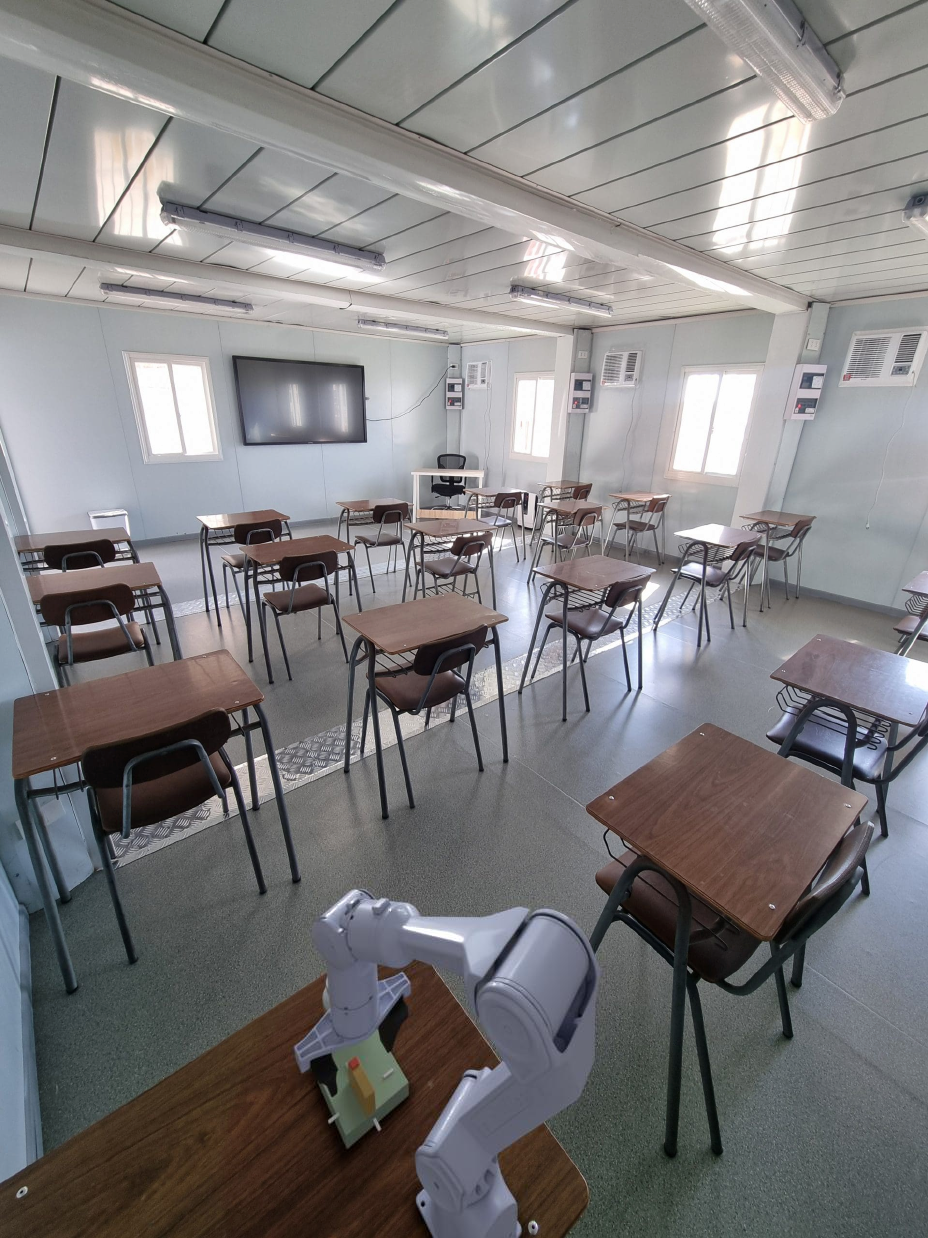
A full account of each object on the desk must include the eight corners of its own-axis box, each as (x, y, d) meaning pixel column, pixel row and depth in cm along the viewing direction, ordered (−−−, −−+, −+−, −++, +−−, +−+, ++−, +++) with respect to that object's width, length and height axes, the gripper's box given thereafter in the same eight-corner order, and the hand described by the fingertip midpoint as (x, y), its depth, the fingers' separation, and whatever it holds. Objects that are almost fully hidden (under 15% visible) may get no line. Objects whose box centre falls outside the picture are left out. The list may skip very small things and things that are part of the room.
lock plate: (417, 1110, 66) (417, 1096, 65) (346, 1175, 60) (345, 1160, 59) (372, 1032, 75) (371, 1019, 74) (306, 1081, 69) (305, 1068, 68)
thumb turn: (376, 1110, 63) (374, 1089, 62) (366, 1118, 63) (365, 1097, 62) (357, 1074, 67) (356, 1054, 66) (348, 1081, 66) (347, 1061, 65)
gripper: (389, 929, 67) (393, 1004, 71) (280, 997, 58) (291, 1078, 62) (419, 969, 62) (420, 1047, 65) (304, 1050, 53) (314, 1135, 57)
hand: (359, 1066), depth 63 cm, fingers open, 7 cm apart
